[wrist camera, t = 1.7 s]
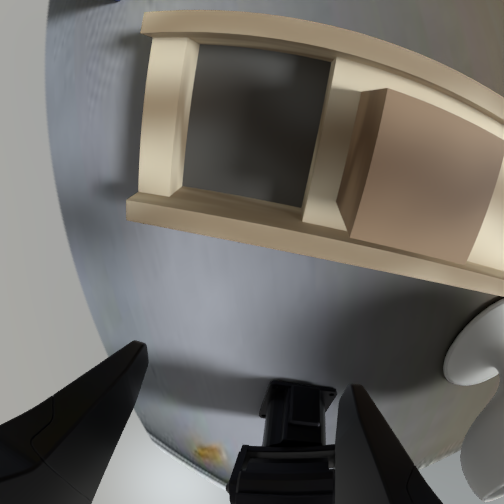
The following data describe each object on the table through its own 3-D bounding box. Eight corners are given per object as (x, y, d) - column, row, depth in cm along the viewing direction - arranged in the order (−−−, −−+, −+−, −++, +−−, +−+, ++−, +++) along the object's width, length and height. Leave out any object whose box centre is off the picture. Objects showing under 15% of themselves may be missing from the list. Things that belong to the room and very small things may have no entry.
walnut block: (430, 226, 15) (464, 265, 11) (335, 201, 16) (349, 237, 12) (459, 128, 12) (507, 142, 9) (361, 91, 13) (387, 88, 9)
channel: (483, 268, 19) (507, 297, 15) (154, 197, 19) (126, 220, 16) (529, 131, 13) (563, 142, 10) (173, 27, 14) (144, 12, 11)
